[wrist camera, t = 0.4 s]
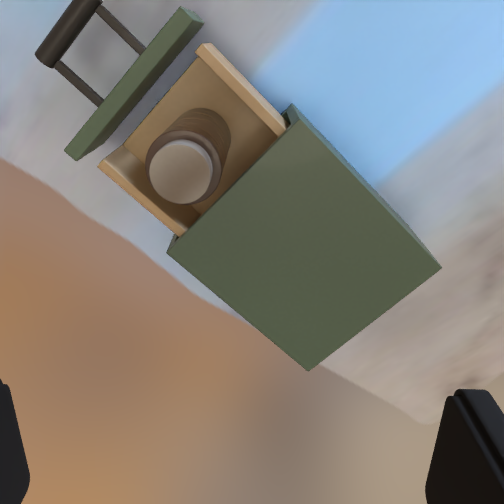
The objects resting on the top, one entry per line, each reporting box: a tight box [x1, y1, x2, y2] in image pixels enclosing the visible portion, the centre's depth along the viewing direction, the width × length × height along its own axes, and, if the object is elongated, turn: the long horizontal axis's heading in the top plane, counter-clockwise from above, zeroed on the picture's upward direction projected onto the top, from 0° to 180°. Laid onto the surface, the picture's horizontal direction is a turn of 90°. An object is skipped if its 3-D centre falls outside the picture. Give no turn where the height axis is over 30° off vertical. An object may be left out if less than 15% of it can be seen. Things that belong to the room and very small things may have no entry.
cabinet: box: [166, 104, 442, 371], centre depth 41 cm, size 17×15×9 cm
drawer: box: [35, 0, 290, 237], centre depth 37 cm, size 21×13×7 cm, turn 46°
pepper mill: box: [145, 108, 231, 205], centre depth 35 cm, size 5×5×12 cm
